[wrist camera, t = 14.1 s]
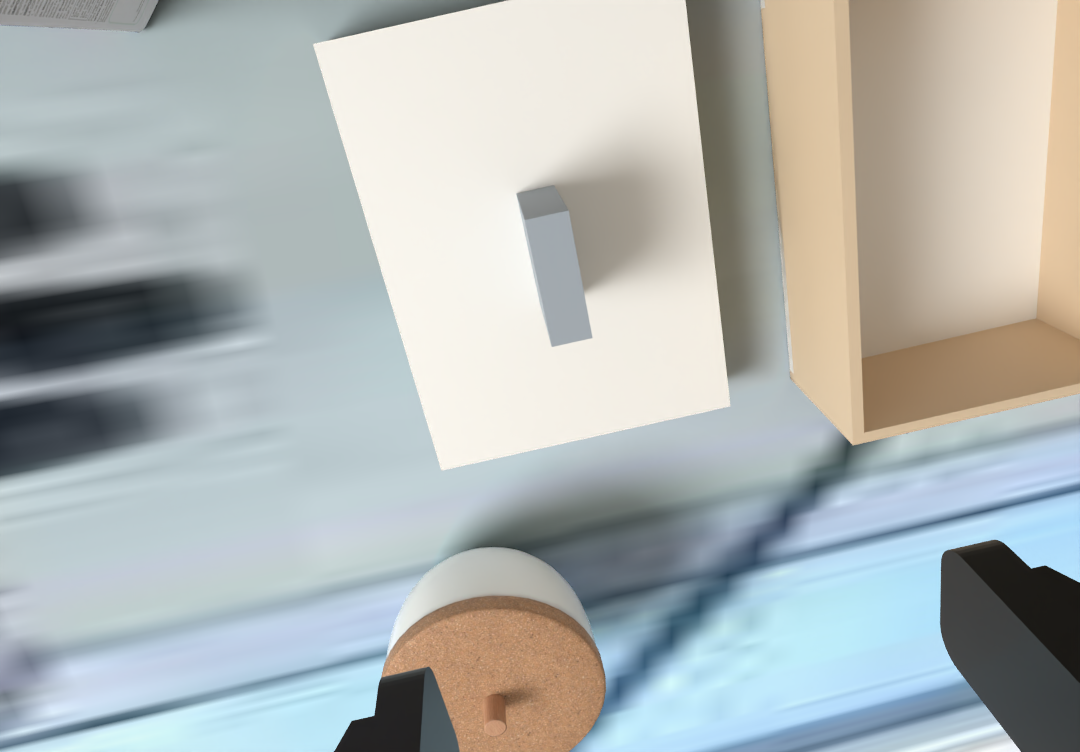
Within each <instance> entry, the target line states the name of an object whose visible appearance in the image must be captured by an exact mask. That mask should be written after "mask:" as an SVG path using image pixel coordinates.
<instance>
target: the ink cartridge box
mask: <svg viewBox="0 0 1080 752" xmlns="http://www.w3.org/2000/svg"><path fill="white" fill-rule="evenodd" d="M157 2H158V0H0V25H4V26H27V27H49V28H73V29H91V30H110V31H128V32H137V33H139V32H141V31H142V30H144V28H145V27H146V25H147V23H148V21H149V19H150V17H151V15H152V13H153V11H154V9H155V7H156V4H157Z"/></svg>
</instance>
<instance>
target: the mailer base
mask: <svg viewBox="0 0 1080 752" xmlns="http://www.w3.org/2000/svg"><path fill="white" fill-rule="evenodd" d="M760 3H761V15H762V28H763V40H764V53H765V65H766V78H767V90H768V103H769V115H770V128H771V140H772V153H773V165H774V178H775V190H776V203H777V215H778V228H779V240H780V253H781V265H782V278H783V290H784V303H785V315H786V328H787V340H788V353H789V365H790V378H791V380H792V381H793V382H794V383H795V384H796V385H797V386H798V387H799V388H800V389H801V390H802V391H803V392H804V394H805V395H806V396H807V397H808V398H809V399H810V400H811V401H812V402H813V403H814V404H815V405H816V406H817V407H818V408H819V409H820V411H821V412H822V413H823V414H824V415H825V416H826V417H827V418H828V419H829V420H830V421H831V422H832V423H833V424H834V425H835V426H836V428H837V429H838V430H839V431H840V432H841V433H842V434H843V435H844V436H845V437H846V438H847V439H848V440H849V441H850V442H851V443H852V445H857V444H861V443H865V442H870V441H874V440H878V439H883V438H887V437H891V436H896V435H900V434H905V433H909V432H913V431H918V430H922V429H926V428H931V427H935V426H940V425H944V424H948V423H953V422H957V421H961V420H966V419H970V418H975V417H979V416H983V415H988V414H992V413H996V412H1001V411H1005V410H1010V409H1014V408H1018V407H1023V406H1027V405H1031V404H1036V403H1040V402H1045V401H1049V400H1053V399H1058V398H1062V397H1066V396H1071V395H1075V394H1080V0H760Z"/></svg>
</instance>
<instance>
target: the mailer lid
mask: <svg viewBox="0 0 1080 752" xmlns="http://www.w3.org/2000/svg"><path fill="white" fill-rule="evenodd" d="M313 45H314V49H315V52H316V55H317V59H318V62H319V65H320V69H321V72H322V75H323V79H324V82H325V85H326V89H327V92H328V95H329V99H330V102H331V105H332V108H333V112H334V115H335V118H336V122H337V125H338V128H339V132H340V135H341V138H342V142H343V145H344V148H345V152H346V155H347V158H348V162H349V165H350V168H351V172H352V175H353V178H354V182H355V185H356V188H357V191H358V195H359V198H360V201H361V205H362V208H363V211H364V215H365V218H366V221H367V225H368V228H369V231H370V235H371V238H372V241H373V245H374V248H375V251H376V255H377V258H378V261H379V264H380V268H381V271H382V274H383V278H384V281H385V284H386V288H387V291H388V294H389V298H390V301H391V304H392V308H393V311H394V314H395V318H396V321H397V324H398V328H399V331H400V334H401V337H402V341H403V344H404V347H405V351H406V354H407V357H408V361H409V364H410V367H411V371H412V374H413V377H414V381H415V384H416V387H417V391H418V394H419V397H420V401H421V404H422V407H423V411H424V414H425V417H426V420H427V424H428V427H429V430H430V434H431V437H432V440H433V444H434V447H435V450H436V454H437V457H438V460H439V464H440V467H441V470H446V469H451V468H455V467H460V466H464V465H469V464H473V463H478V462H482V461H487V460H491V459H496V458H500V457H505V456H509V455H514V454H518V453H523V452H527V451H532V450H536V449H541V448H545V447H550V446H554V445H559V444H563V443H568V442H572V441H577V440H581V439H585V438H590V437H594V436H599V435H603V434H608V433H612V432H617V431H621V430H626V429H630V428H635V427H639V426H644V425H648V424H653V423H657V422H662V421H666V420H671V419H675V418H680V417H684V416H689V415H693V414H698V413H702V412H707V411H711V410H716V409H720V408H725V407H729V406H730V399H729V389H728V380H727V371H726V362H725V353H724V344H723V335H722V326H721V317H720V308H719V299H718V290H717V281H716V272H715V263H714V254H713V245H712V236H711V227H710V218H709V209H708V200H707V191H706V182H705V173H704V163H703V154H702V145H701V136H700V127H699V118H698V109H697V100H696V91H695V82H694V73H693V64H692V55H691V46H690V37H689V28H688V19H687V10H686V1H685V0H508V1H503V2H499V3H494V4H490V5H485V6H481V7H476V8H472V9H467V10H463V11H458V12H454V13H450V14H445V15H441V16H436V17H432V18H427V19H423V20H418V21H414V22H409V23H405V24H401V25H396V26H392V27H387V28H383V29H378V30H374V31H369V32H365V33H360V34H356V35H351V36H347V37H343V38H338V39H334V40H329V41H325V42H320V43H316V44H313Z"/></svg>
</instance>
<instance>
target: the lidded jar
mask: <svg viewBox="0 0 1080 752" xmlns="http://www.w3.org/2000/svg"><path fill="white" fill-rule="evenodd" d="M424 667H430V668H431V669H432V671H433V673H434V675H435V678H436V681H437V684H438V686H439V689H440V692H441V695H442V697H443V700H444V703H445V706H446V708H447V711H448V714H449V717H450V719H451V722H452V725H453V728H454V730H455V733H456V737H457V740H458V745H459V750H460V752H569V751H570V750H571V749H572V748H573V747H575V746H576V745H577V744H578V743H579V742H580V741H581V740H582V739H583V738H584V737H585V735H586V734H587V733H588V732H589V731H590V730H591V728H592V726H593V725H594V723H595V721H596V720H597V718H598V716H599V714H600V711H601V709H602V706H603V703H604V698H605V692H606V681H605V673H604V668H603V664H602V661H601V657H600V653H599V651H598V649H597V647H596V644H595V640H594V636H593V632H592V629H591V625H590V622H589V620H588V618H587V615H586V613H585V611H584V608H583V606H582V604H581V602H580V600H579V599H578V597H577V595H576V594H575V592H574V590H573V589H572V588H571V586H570V585H569V584H568V582H567V581H566V580H565V579H564V578H563V577H562V576H561V575H560V574H559V573H558V572H557V571H556V570H555V569H554V568H553V567H551V566H550V565H548V564H547V563H545V562H544V561H542V560H541V559H539V558H537V557H534V556H532V555H530V554H528V553H526V552H522V551H519V550H516V549H510V548H504V547H484V548H476V549H471V550H467V551H463V552H461V553H458V554H456V555H453V556H451V557H449V558H447V559H446V560H444V561H442V562H440V563H439V564H437V565H436V566H435V567H433V568H432V569H431V570H430V571H428V572H427V573H426V574H425V575H424V576H423V577H422V578H421V579H420V580H419V581H418V582H417V584H416V585H415V586H414V587H413V589H412V590H411V592H410V593H409V595H408V596H407V597H406V599H405V601H404V603H403V605H402V607H401V609H400V612H399V614H398V616H397V618H396V621H395V624H394V627H393V630H392V633H391V637H390V641H389V646H388V651H387V656H386V662H385V664H384V668H383V672H382V677H385V676H389V675H394V674H398V673H402V672H407V671H411V670H416V669H420V668H424ZM382 677H381V678H382Z"/></svg>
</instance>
